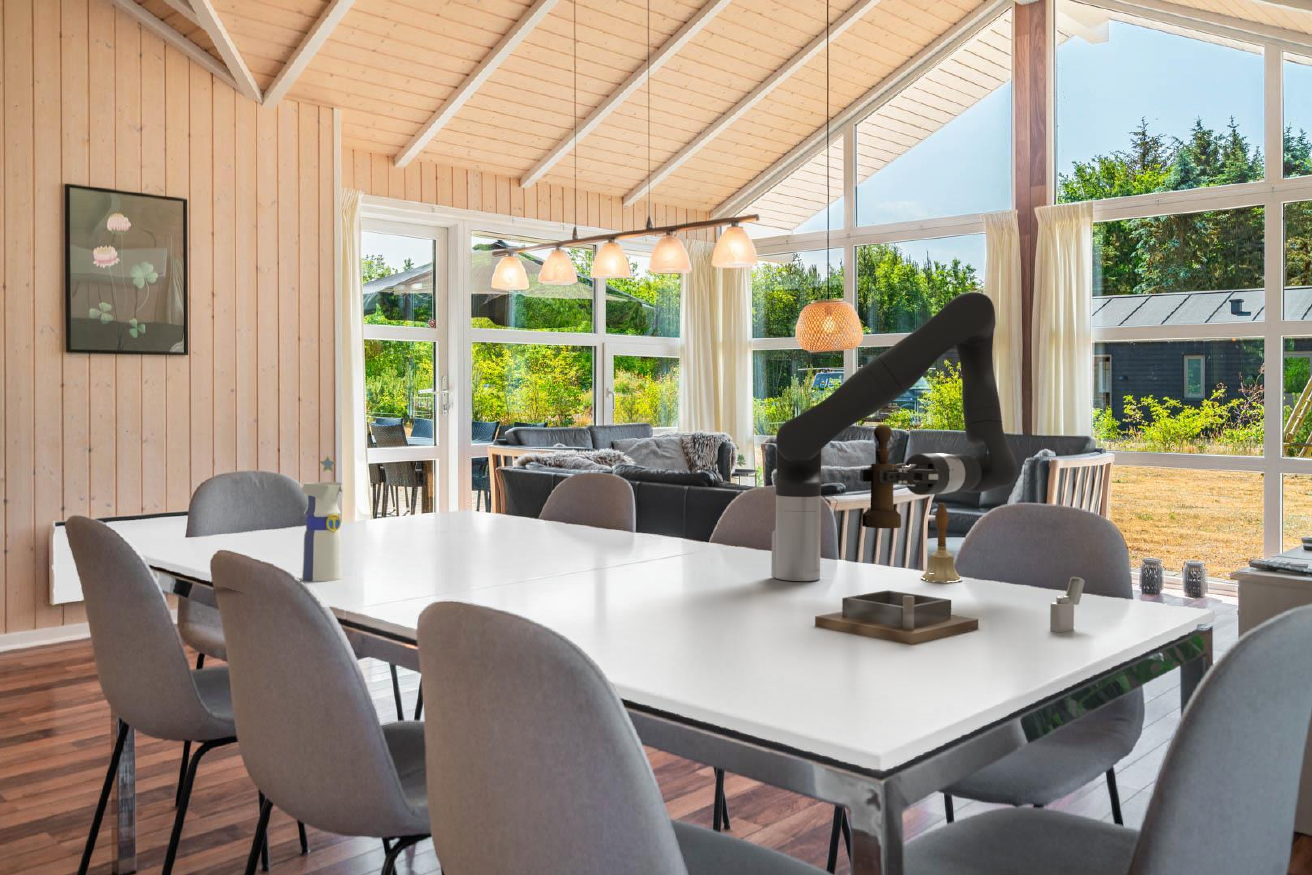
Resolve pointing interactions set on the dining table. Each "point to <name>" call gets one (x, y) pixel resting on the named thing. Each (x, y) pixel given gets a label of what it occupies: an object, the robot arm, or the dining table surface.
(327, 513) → the cream gift bag
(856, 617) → the collar plate
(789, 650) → the dining table surface
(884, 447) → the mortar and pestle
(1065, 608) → the lighter
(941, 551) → the hand bell
